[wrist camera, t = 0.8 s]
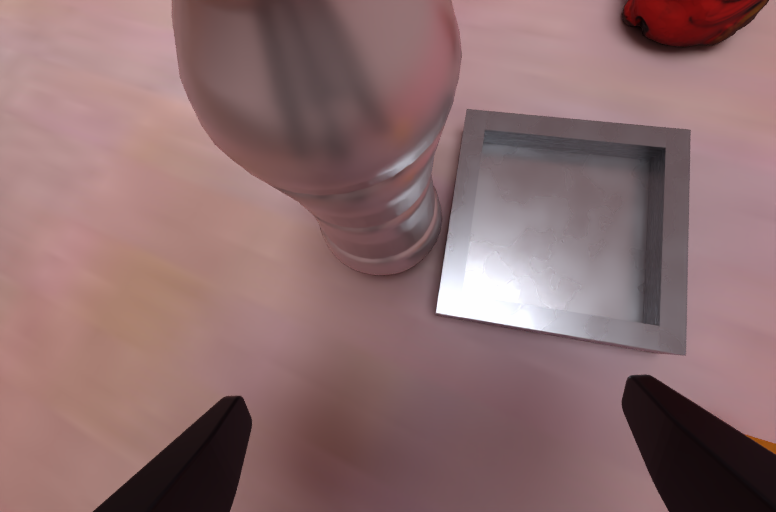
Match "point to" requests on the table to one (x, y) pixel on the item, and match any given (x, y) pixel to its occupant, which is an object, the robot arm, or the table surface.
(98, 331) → the table surface
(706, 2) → the red clay folk toy
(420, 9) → the plastic bottle
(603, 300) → the tray
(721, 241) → the table surface
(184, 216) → the table surface
